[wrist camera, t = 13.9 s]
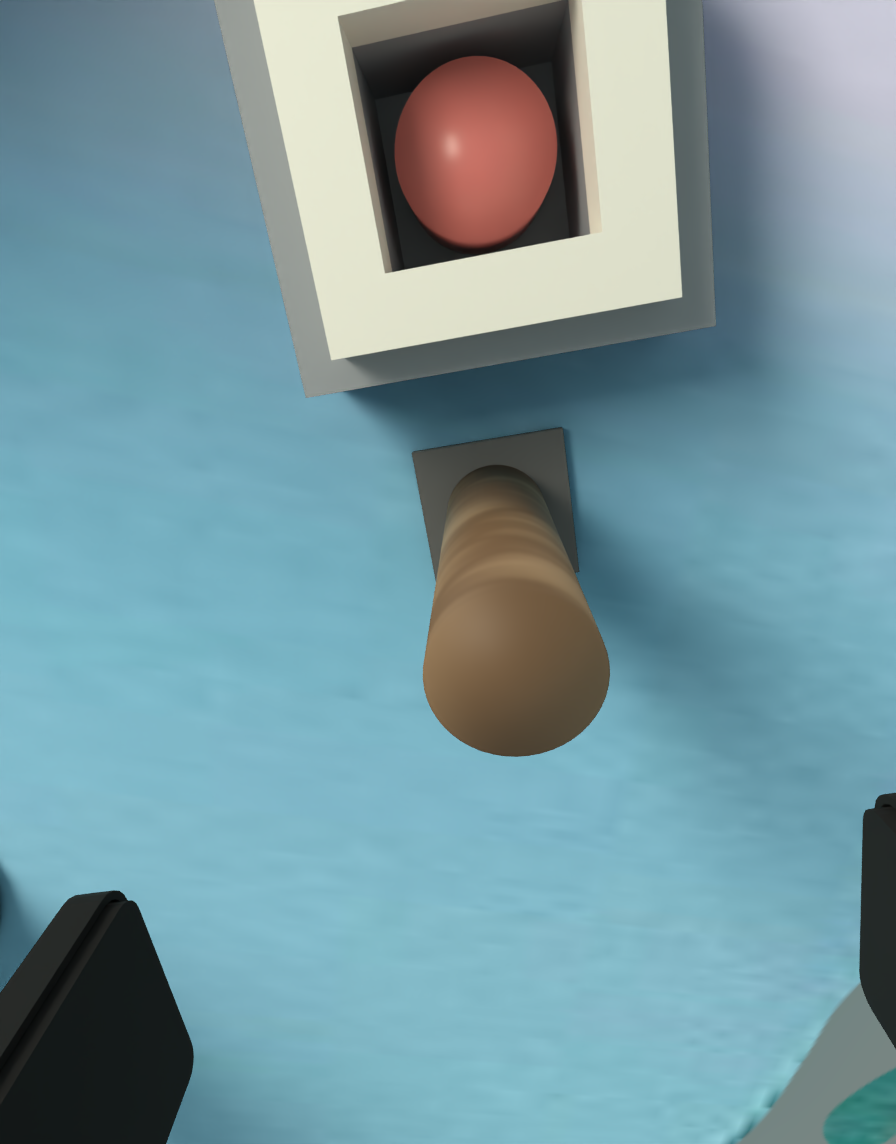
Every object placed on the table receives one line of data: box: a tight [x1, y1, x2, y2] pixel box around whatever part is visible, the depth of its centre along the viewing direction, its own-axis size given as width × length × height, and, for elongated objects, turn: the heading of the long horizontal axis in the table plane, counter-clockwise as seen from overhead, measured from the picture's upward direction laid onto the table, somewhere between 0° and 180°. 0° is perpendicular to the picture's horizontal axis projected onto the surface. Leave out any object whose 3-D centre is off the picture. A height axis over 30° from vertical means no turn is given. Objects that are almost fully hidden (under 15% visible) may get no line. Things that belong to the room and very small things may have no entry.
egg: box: [395, 56, 557, 255], centre depth 22 cm, size 5×5×4 cm
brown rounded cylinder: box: [423, 465, 610, 757], centre depth 21 cm, size 4×4×14 cm
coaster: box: [412, 427, 579, 580], centre depth 28 cm, size 6×6×1 cm
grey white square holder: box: [214, 0, 716, 398], centre depth 21 cm, size 12×13×7 cm
